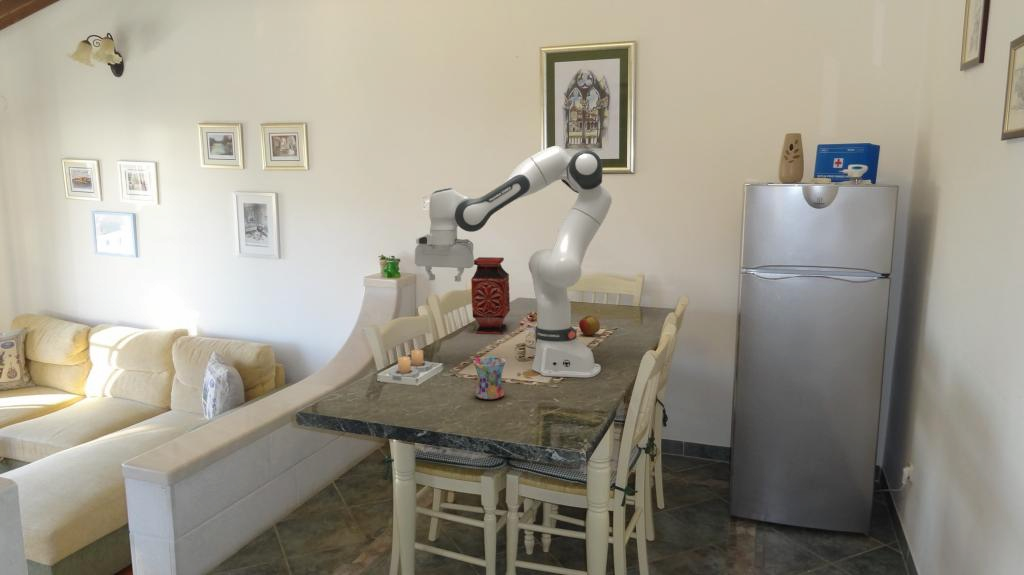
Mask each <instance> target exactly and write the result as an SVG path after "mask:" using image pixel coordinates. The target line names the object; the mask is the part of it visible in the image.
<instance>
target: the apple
mask: <svg viewBox="0 0 1024 575" xmlns="http://www.w3.org/2000/svg"><path fill="white" fill-rule="evenodd" d="M578 327H579V329H580V332H582V334H583V335H585V336H586V337H587V336H588V337H590V336H592V335H594V334H596V333H598V332H599V331H600V329H601V325H600V322H599V320H598V319H597V318H596V317H595V316H593V315H587V316H585V317H583V318H582V319H581V320H580V321H579V323H578Z"/></svg>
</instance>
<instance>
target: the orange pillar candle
mask: <svg viewBox="0 0 1024 575" xmlns="http://www.w3.org/2000/svg"><path fill="white" fill-rule="evenodd" d="M410 360H411V357H410V356H408V355H407V356H406V355H403V356H399V357H398V358H397V364H398V372H399V374H409V373H411V364H410Z"/></svg>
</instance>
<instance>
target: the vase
mask: <svg viewBox="0 0 1024 575" xmlns="http://www.w3.org/2000/svg"><path fill="white" fill-rule="evenodd" d="M504 260H505V259H504V257H497V256H496V257H494V256H493V257H491V256H490V257H487V256H486V257H485V256H484V257H483V256H482V257H480V256H479V257H477V258H476V259H475V258H474V265H473V266H476V270H475V272H474V275H473V276H472V277H471V305H472V306H471V308H472V318H473V319H475V320H476V322H477V324H478V325H479V327H478V328H477V329H476V334H481V335H482V334H484V335H503V334H504V332H505V331H506V330H507V324H504V320H505V318H506V317H507V315H508V314H509V312H510V311H511V308H510V304H511V302H510V282H509V280H510V278H509V277H510V274H509V273H508V272H507V271H506V270H505V269H504V268H503V267H502V264H501V263H503V262H504Z"/></svg>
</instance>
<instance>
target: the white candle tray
mask: <svg viewBox="0 0 1024 575" xmlns="http://www.w3.org/2000/svg"><path fill="white" fill-rule="evenodd" d="M410 353H411V355H410V356H411V357H410V364H411V373H409V374H399V372H398V363H397V364H395V365H393V366H391V367H389V368H387V369H385V370H383V371H381V372H379V373H377V374H376V379H377V380H376V381H377V382H378V381H380V382H381V383H387V384H388V383H389V384H397V385H398V384H399V385H408V386H417V387H418V386H420V385H421V384H423V383H424V382H426V381H427V380H429V379H430V378H432V377H435V376H436V375H438V374H439V373H441V372H442V371H444V363H442V362H441V363H440V362H433V361H432V362H431V361H428V360H424V350H423V349H413V350H410Z"/></svg>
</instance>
